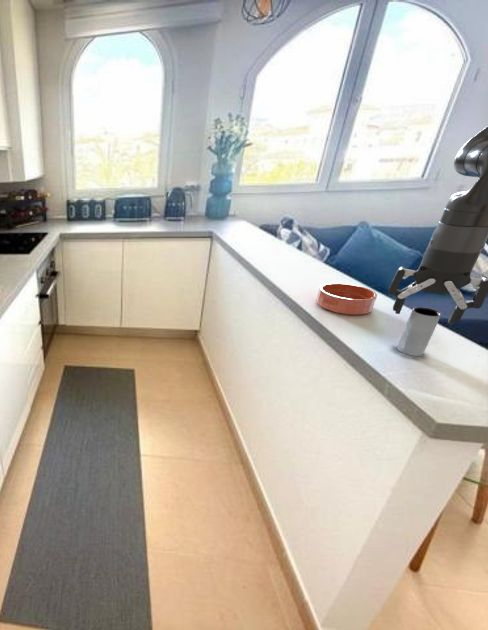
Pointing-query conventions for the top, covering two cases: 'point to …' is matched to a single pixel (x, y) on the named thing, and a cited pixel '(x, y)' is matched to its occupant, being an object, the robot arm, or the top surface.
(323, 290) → the bowl
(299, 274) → the top surface
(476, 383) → the top surface
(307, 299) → the top surface
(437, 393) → the top surface
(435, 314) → the grey cylinder
